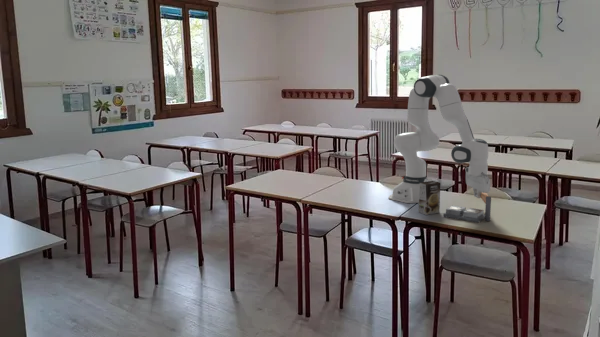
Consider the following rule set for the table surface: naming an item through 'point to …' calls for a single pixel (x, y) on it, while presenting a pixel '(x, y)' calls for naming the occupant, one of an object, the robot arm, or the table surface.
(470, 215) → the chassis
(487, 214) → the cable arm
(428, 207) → the coffee box
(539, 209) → the table surface
